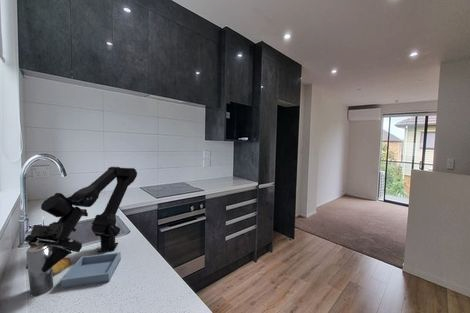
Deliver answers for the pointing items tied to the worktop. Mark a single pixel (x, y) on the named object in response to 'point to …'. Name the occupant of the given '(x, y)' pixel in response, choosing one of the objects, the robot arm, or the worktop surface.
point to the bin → (91, 270)
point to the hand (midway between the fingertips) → (35, 270)
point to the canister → (39, 269)
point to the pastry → (61, 265)
